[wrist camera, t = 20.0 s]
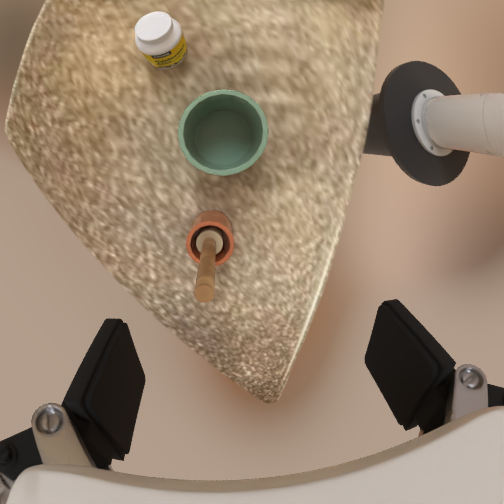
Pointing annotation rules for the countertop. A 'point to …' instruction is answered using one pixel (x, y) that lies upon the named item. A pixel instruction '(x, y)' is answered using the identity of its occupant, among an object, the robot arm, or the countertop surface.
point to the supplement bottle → (160, 40)
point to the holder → (215, 220)
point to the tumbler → (223, 132)
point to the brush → (207, 261)
